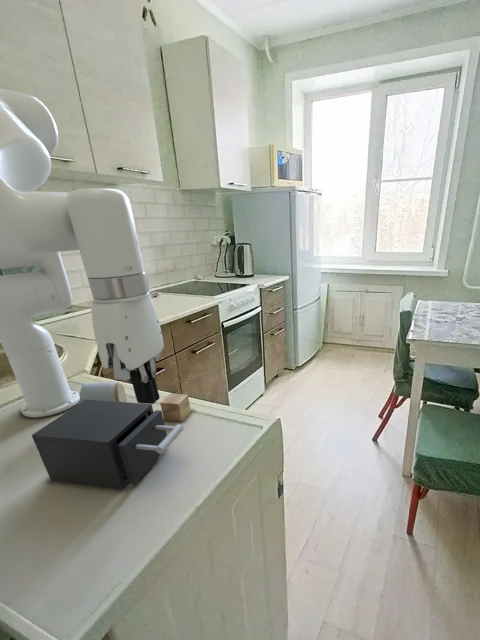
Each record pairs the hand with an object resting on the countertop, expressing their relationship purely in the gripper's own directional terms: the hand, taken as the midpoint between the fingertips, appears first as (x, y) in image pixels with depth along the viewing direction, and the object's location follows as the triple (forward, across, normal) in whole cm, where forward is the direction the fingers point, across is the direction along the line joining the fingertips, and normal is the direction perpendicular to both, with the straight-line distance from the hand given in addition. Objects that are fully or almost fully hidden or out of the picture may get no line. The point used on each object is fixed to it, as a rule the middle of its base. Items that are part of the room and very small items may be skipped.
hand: (148, 400), depth 58 cm
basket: (+13, 0, -6) cm, 15 cm away
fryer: (+14, 0, -12) cm, 18 cm away
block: (+14, -18, -7) cm, 24 cm away
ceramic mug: (+14, -18, -26) cm, 35 cm away
